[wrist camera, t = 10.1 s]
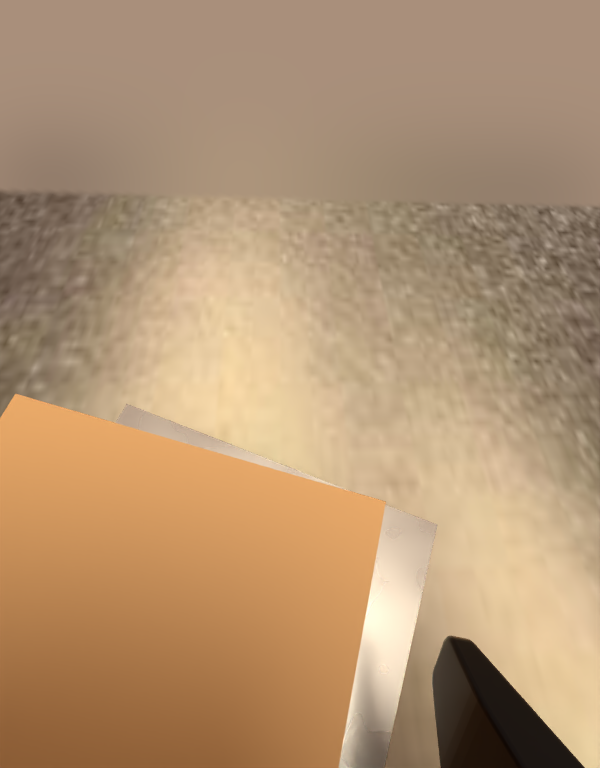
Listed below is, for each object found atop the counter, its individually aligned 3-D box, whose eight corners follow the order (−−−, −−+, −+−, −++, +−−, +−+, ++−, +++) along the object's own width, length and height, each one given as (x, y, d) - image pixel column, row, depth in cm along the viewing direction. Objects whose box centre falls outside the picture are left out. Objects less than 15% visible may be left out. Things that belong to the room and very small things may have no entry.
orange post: (251, 725, 14) (276, 1115, 3) (127, 686, 15) (-311, 919, 3) (286, 588, 16) (386, 501, 5) (176, 555, 16) (15, 393, 5)
